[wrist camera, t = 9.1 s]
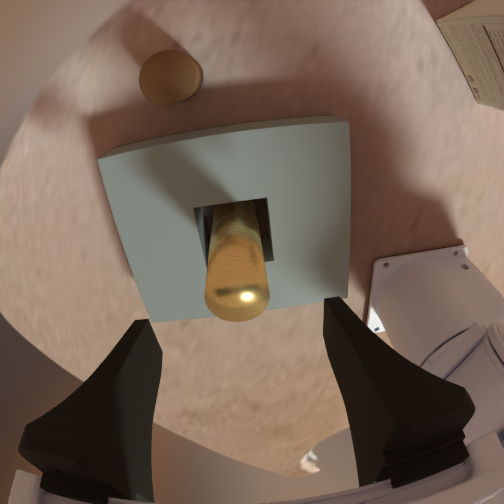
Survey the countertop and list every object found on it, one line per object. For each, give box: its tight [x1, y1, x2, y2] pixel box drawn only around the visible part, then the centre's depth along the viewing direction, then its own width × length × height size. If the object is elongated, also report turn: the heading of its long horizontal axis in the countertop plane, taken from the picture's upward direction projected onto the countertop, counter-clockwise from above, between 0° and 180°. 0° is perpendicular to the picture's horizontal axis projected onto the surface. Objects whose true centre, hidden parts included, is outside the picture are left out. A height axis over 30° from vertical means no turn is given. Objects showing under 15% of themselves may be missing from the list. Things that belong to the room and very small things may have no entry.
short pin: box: [139, 50, 203, 105], centre depth 15 cm, size 3×3×4 cm
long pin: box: [204, 200, 270, 322], centre depth 18 cm, size 3×3×9 cm
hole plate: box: [97, 115, 351, 322], centre depth 20 cm, size 14×12×3 cm
